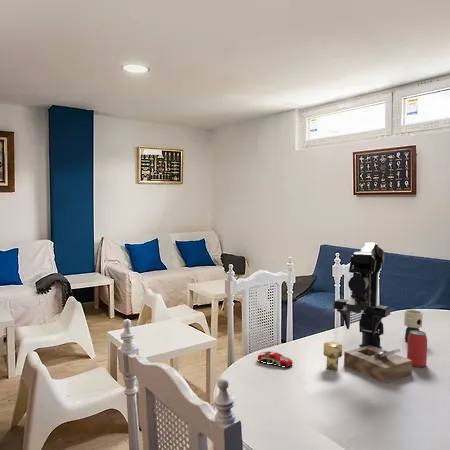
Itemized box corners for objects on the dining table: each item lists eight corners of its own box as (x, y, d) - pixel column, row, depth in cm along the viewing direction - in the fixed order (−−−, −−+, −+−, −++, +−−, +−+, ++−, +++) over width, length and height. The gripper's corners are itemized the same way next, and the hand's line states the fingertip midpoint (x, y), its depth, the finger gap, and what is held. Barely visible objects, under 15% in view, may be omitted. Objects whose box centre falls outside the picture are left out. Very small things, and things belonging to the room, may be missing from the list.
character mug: (417, 346, 179) (418, 315, 178) (399, 342, 183) (400, 312, 182) (424, 340, 187) (426, 310, 186) (407, 336, 191) (408, 307, 191)
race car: (294, 365, 158) (295, 354, 157) (289, 370, 153) (289, 359, 153) (261, 358, 164) (262, 347, 164) (255, 362, 159) (256, 352, 159)
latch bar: (377, 358, 151) (375, 353, 152) (383, 356, 153) (381, 352, 154) (394, 353, 145) (392, 348, 146) (400, 351, 147) (398, 346, 147)
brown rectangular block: (344, 364, 158) (344, 346, 157) (369, 357, 165) (370, 340, 164) (385, 383, 142) (385, 362, 142) (411, 374, 150) (412, 355, 149)
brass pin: (319, 366, 155) (319, 343, 155) (332, 363, 159) (332, 340, 158) (332, 373, 150) (332, 349, 150) (345, 369, 153) (345, 346, 153)
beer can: (428, 368, 155) (429, 335, 154) (408, 366, 156) (410, 334, 156) (423, 361, 162) (425, 330, 161) (405, 360, 163) (406, 329, 162)
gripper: (327, 287, 152) (326, 331, 152) (380, 295, 140) (378, 342, 141) (340, 283, 160) (339, 324, 161) (391, 290, 149) (390, 335, 149)
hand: (360, 331), depth 153 cm, fingers open, 9 cm apart
